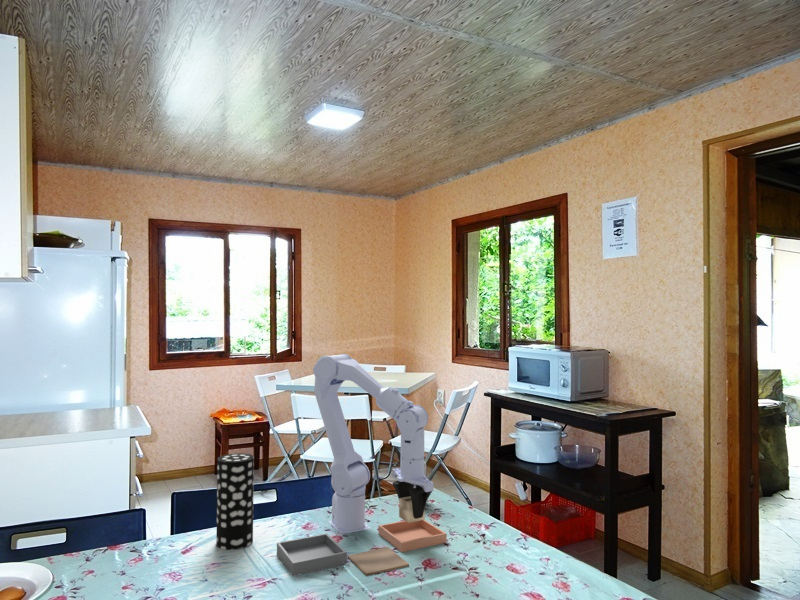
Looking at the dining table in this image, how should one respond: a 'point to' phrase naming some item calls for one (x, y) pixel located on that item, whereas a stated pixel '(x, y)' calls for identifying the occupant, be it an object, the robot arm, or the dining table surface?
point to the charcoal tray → (311, 554)
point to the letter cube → (408, 510)
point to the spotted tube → (235, 501)
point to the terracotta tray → (412, 534)
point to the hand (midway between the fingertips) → (411, 514)
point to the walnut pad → (377, 561)
